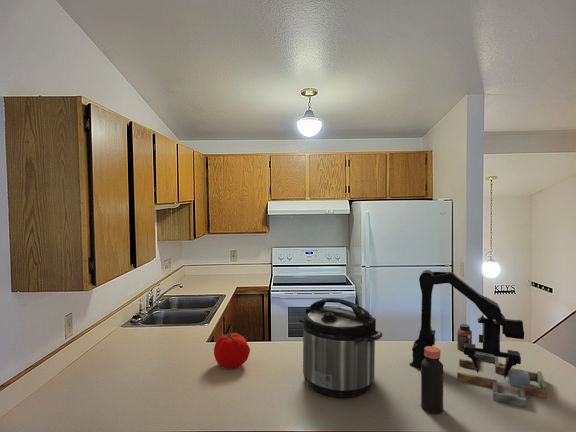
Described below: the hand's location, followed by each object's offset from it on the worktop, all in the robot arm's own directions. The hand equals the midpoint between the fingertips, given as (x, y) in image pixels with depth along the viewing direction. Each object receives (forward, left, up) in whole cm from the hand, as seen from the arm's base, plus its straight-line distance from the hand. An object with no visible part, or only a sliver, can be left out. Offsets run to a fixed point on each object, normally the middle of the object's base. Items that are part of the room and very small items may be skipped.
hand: (491, 374), depth 137 cm
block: (+4, -8, -1) cm, 9 cm away
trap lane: (+1, -2, -1) cm, 3 cm away
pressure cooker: (-47, +35, -2) cm, 58 cm away
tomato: (-74, +71, -2) cm, 102 cm away
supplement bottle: (+18, +20, -2) cm, 27 cm away
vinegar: (-36, +3, -2) cm, 36 cm away
